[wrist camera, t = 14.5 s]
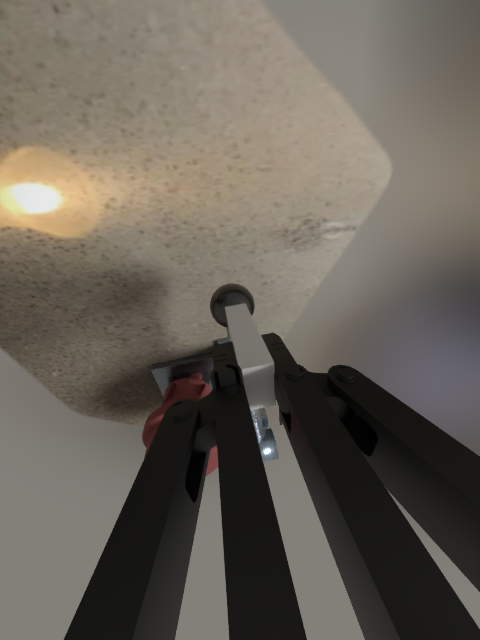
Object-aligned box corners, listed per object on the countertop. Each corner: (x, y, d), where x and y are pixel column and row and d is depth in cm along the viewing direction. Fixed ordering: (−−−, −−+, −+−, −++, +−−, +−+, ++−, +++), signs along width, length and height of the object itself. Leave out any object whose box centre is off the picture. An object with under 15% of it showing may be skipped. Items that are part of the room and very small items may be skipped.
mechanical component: (221, 403, 35) (162, 411, 33) (219, 358, 30) (149, 366, 28) (230, 488, 24) (143, 506, 22) (228, 440, 19) (117, 458, 18)
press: (147, 353, 29) (110, 449, 17) (246, 334, 30) (274, 411, 18) (169, 403, 34) (153, 502, 22) (252, 385, 36) (277, 470, 24)
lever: (207, 288, 17) (204, 286, 14) (247, 281, 18) (254, 278, 14) (237, 448, 20) (242, 481, 16) (272, 439, 20) (284, 470, 16)
